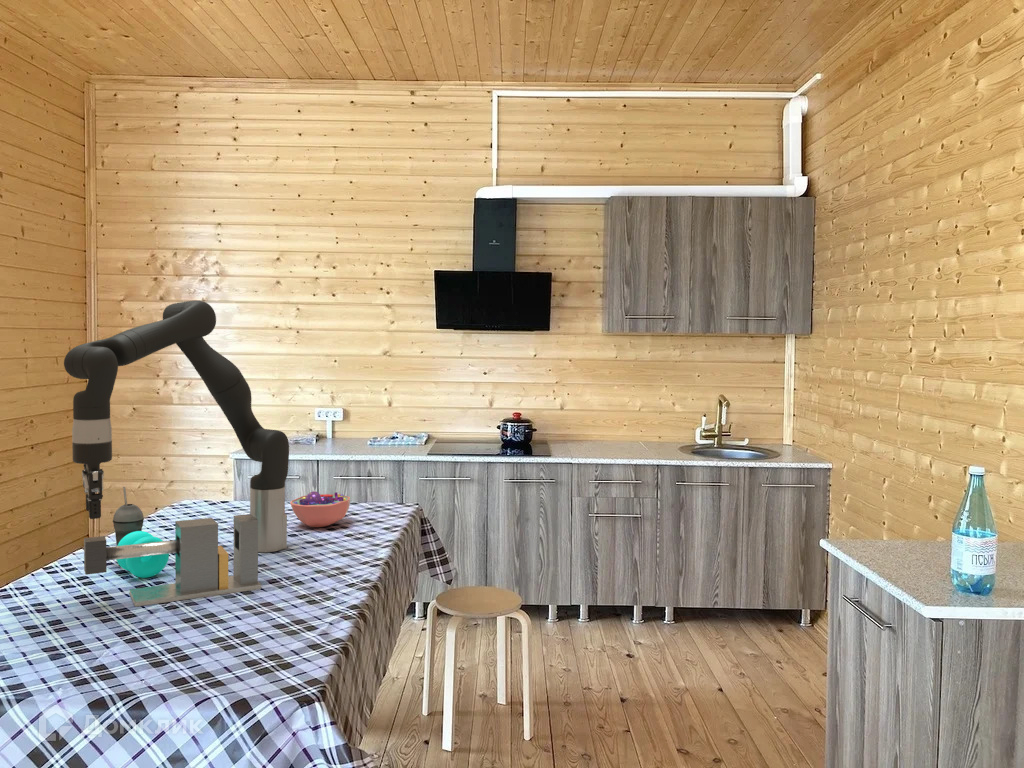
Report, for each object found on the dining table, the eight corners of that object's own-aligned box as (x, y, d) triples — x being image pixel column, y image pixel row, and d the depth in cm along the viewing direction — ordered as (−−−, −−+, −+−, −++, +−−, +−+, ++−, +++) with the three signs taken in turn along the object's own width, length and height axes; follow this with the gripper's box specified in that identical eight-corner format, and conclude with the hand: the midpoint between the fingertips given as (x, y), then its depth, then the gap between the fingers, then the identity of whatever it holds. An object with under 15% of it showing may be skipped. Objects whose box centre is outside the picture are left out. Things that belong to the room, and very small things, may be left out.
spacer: (220, 578, 191) (220, 545, 190) (228, 587, 184) (228, 553, 184) (212, 579, 190) (212, 546, 189) (219, 589, 183) (219, 554, 182)
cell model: (363, 523, 255) (363, 488, 254) (316, 535, 238) (317, 498, 237) (325, 516, 264) (325, 482, 263) (277, 527, 247) (278, 491, 246)
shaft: (207, 555, 187) (207, 525, 187) (211, 559, 184) (211, 529, 183) (84, 569, 174) (84, 538, 173) (85, 574, 170) (85, 542, 170)
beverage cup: (131, 569, 200) (131, 490, 198) (106, 567, 201) (105, 488, 200) (150, 561, 207) (150, 485, 206) (125, 559, 208) (125, 483, 207)
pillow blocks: (251, 577, 196) (251, 512, 195) (261, 588, 187) (261, 521, 186) (129, 593, 181) (129, 524, 180) (134, 606, 173) (134, 533, 172)
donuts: (155, 565, 203) (155, 527, 203) (171, 574, 196) (171, 534, 196) (113, 573, 196) (113, 533, 196) (128, 582, 189) (128, 541, 189)
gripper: (115, 442, 167) (116, 519, 168) (108, 434, 179) (109, 506, 180) (74, 444, 163) (75, 523, 164) (70, 436, 175) (71, 509, 176)
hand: (93, 514), depth 172 cm, fingers open, 8 cm apart
